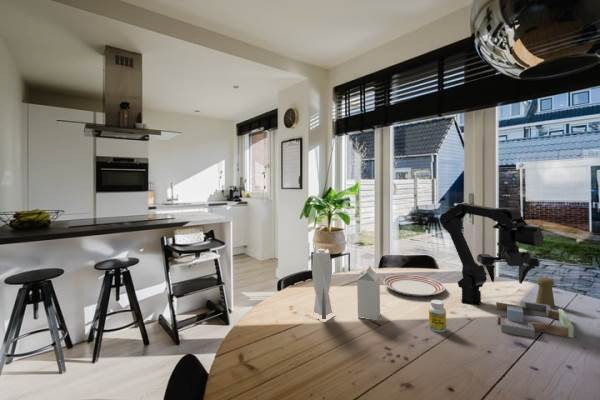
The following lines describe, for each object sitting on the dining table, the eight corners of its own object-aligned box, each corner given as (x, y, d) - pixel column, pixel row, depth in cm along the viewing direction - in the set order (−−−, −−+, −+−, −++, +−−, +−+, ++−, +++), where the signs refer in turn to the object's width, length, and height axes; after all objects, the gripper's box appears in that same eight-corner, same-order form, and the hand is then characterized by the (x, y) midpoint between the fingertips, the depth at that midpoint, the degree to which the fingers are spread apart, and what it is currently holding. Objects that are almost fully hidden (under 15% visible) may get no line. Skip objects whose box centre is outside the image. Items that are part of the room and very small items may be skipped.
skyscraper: (307, 317, 118) (305, 246, 117) (320, 310, 124) (319, 242, 122) (324, 323, 112) (322, 248, 111) (337, 316, 118) (335, 245, 117)
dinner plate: (448, 285, 149) (448, 278, 148) (440, 305, 125) (440, 297, 125) (392, 277, 163) (392, 271, 163) (375, 293, 140) (375, 286, 140)
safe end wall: (568, 336, 97) (568, 326, 97) (558, 318, 110) (558, 308, 110) (573, 337, 97) (573, 327, 96) (562, 318, 110) (562, 309, 110)
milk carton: (380, 313, 118) (379, 265, 117) (376, 321, 112) (376, 270, 111) (362, 311, 121) (361, 264, 120) (357, 318, 115) (356, 269, 114)
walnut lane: (497, 324, 107) (497, 317, 107) (496, 308, 120) (496, 302, 120) (568, 336, 97) (568, 329, 97) (558, 318, 110) (558, 311, 110)
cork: (558, 308, 118) (559, 280, 118) (541, 307, 120) (541, 280, 119) (549, 302, 124) (549, 276, 124) (532, 301, 125) (532, 275, 125)
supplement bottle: (444, 326, 107) (444, 299, 106) (447, 333, 102) (447, 305, 101) (428, 324, 108) (428, 298, 108) (429, 331, 103) (429, 304, 103)
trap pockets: (501, 331, 102) (501, 324, 102) (497, 303, 125) (498, 297, 125) (565, 343, 93) (565, 335, 93) (549, 311, 116) (549, 305, 116)
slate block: (507, 320, 110) (507, 309, 110) (507, 315, 114) (507, 305, 114) (523, 323, 108) (523, 312, 108) (521, 318, 112) (521, 307, 111)
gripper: (487, 245, 107) (487, 288, 108) (549, 247, 103) (547, 292, 104) (477, 239, 118) (476, 278, 119) (532, 240, 114) (530, 281, 115)
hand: (506, 282), depth 114 cm, fingers open, 9 cm apart
